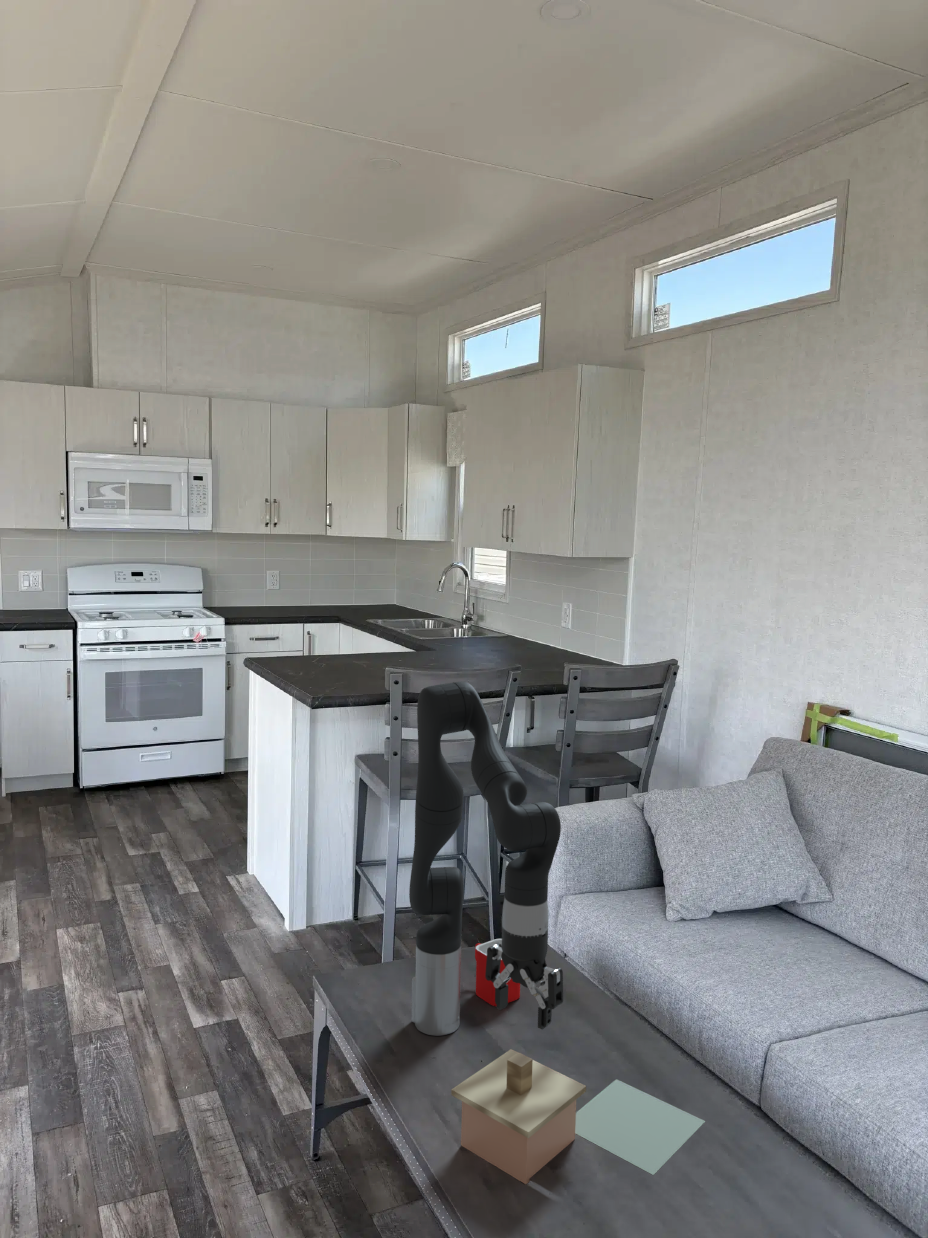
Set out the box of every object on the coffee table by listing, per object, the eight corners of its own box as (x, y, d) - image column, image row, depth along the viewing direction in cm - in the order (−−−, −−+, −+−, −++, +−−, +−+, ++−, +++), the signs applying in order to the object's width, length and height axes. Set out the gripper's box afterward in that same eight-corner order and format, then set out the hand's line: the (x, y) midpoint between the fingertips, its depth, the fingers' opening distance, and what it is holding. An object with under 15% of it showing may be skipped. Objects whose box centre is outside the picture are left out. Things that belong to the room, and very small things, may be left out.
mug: (524, 997, 205) (525, 951, 203) (495, 1009, 200) (496, 961, 198) (489, 975, 214) (490, 931, 213) (461, 986, 209) (461, 940, 208)
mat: (560, 1129, 161) (560, 1125, 161) (616, 1082, 175) (616, 1079, 174) (653, 1178, 149) (653, 1175, 149) (705, 1124, 163) (705, 1121, 163)
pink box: (461, 1145, 156) (462, 1095, 155) (511, 1107, 167) (512, 1060, 166) (526, 1184, 147) (527, 1131, 146) (574, 1142, 158) (576, 1092, 157)
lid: (451, 1095, 155) (451, 1061, 155) (510, 1054, 167) (511, 1022, 167) (528, 1138, 145) (529, 1102, 144) (586, 1091, 157) (587, 1058, 156)
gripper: (476, 918, 154) (474, 1010, 156) (547, 945, 145) (544, 1043, 147) (505, 904, 160) (502, 993, 162) (574, 929, 151) (571, 1024, 153)
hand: (522, 1017), depth 154 cm, fingers open, 8 cm apart
